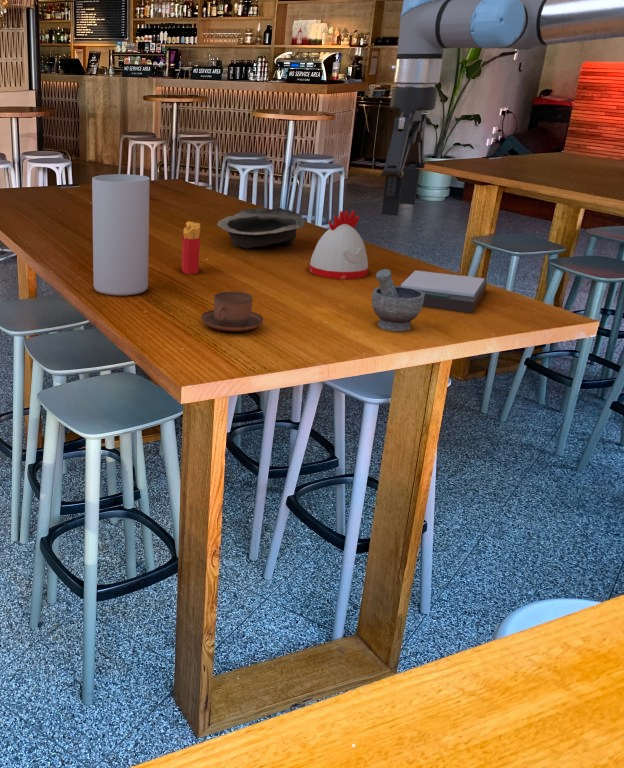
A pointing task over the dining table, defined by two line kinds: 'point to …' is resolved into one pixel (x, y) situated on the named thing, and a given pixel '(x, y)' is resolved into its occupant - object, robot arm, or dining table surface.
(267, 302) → the dining table surface
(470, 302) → the kitchen scale
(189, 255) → the french fries
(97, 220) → the cylinder vase
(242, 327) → the cup and saucer
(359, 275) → the kitchen timer
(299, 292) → the dining table surface
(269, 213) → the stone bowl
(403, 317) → the mortar and pestle
